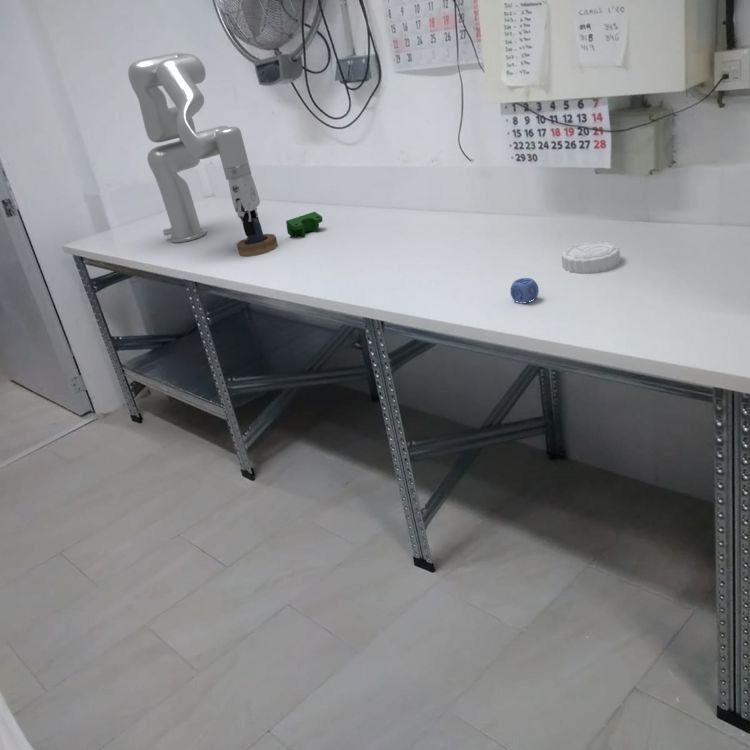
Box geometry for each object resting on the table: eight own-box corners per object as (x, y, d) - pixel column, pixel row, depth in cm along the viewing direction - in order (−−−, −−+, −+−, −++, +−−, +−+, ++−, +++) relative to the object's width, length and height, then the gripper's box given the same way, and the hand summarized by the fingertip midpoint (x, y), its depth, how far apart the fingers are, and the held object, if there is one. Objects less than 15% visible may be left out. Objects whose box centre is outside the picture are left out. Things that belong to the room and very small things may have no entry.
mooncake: (630, 265, 154) (630, 248, 153) (577, 278, 153) (576, 262, 152) (603, 251, 165) (602, 236, 164) (553, 264, 164) (552, 248, 162)
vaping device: (248, 247, 225) (237, 209, 219) (264, 243, 226) (254, 204, 221) (249, 249, 222) (239, 210, 217) (266, 244, 224) (256, 205, 218)
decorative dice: (524, 295, 150) (522, 276, 148) (539, 298, 147) (537, 279, 145) (511, 301, 148) (509, 283, 147) (526, 305, 145) (524, 286, 143)
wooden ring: (233, 258, 221) (231, 248, 219) (246, 246, 231) (244, 237, 230) (270, 253, 218) (268, 243, 217) (282, 241, 228) (279, 232, 227)
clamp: (302, 249, 231) (290, 230, 225) (294, 243, 234) (282, 224, 228) (329, 227, 232) (318, 207, 226) (320, 221, 236) (309, 201, 230)
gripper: (239, 176, 206) (256, 239, 214) (258, 163, 221) (273, 223, 229) (215, 180, 208) (232, 242, 216) (235, 167, 223) (251, 226, 231)
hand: (253, 231), depth 222 cm, fingers closed on vaping device, 4 cm apart
